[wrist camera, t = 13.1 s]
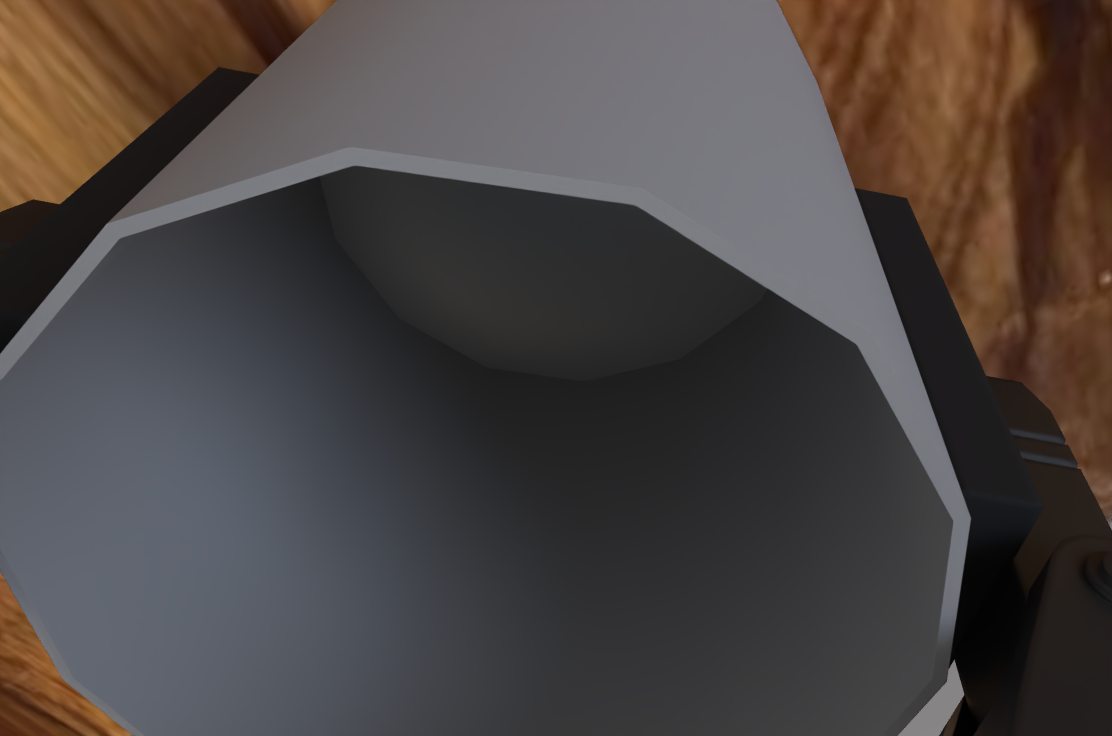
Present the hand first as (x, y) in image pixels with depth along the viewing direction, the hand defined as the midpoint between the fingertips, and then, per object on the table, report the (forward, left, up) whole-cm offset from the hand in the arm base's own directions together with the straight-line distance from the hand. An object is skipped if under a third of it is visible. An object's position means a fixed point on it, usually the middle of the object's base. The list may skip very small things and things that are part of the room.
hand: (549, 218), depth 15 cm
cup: (0, 0, -3) cm, 3 cm away
